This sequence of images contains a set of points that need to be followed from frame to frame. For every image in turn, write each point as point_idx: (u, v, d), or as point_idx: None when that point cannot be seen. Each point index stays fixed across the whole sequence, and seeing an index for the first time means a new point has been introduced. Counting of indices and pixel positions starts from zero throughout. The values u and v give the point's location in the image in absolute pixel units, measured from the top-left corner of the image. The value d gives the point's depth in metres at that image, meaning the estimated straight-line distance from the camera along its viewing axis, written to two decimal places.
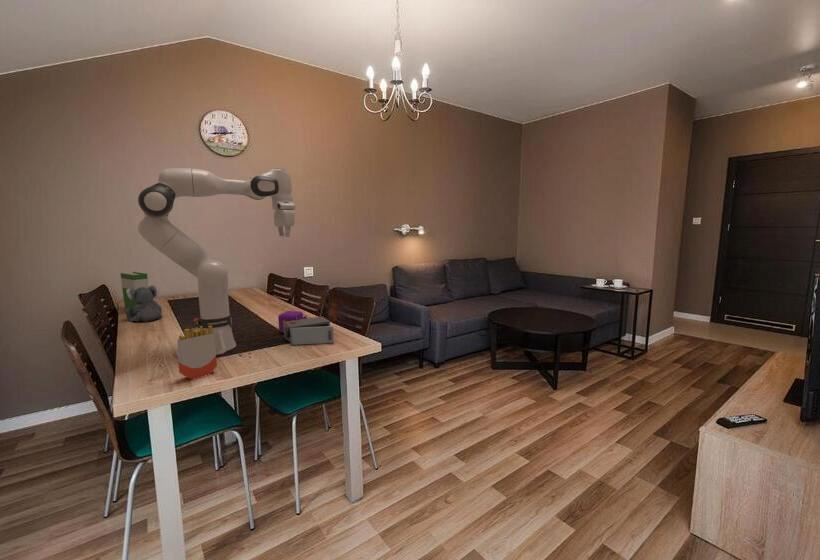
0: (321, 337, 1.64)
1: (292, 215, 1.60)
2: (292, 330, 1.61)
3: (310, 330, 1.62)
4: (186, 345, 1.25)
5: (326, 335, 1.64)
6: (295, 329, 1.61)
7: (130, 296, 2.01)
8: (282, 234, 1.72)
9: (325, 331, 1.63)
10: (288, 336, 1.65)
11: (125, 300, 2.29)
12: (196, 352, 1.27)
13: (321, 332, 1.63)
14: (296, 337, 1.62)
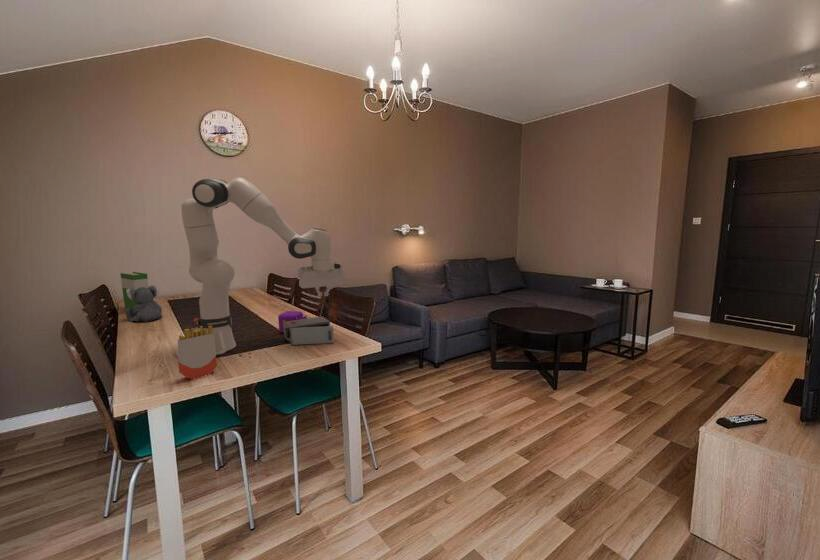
0: (321, 337, 1.64)
1: None
2: (292, 330, 1.61)
3: (310, 330, 1.62)
4: (186, 345, 1.25)
5: (326, 335, 1.64)
6: (295, 329, 1.61)
7: (130, 296, 2.01)
8: None
9: (325, 331, 1.63)
10: (288, 336, 1.65)
11: (125, 300, 2.29)
12: (196, 352, 1.27)
13: (321, 332, 1.63)
14: (296, 337, 1.62)
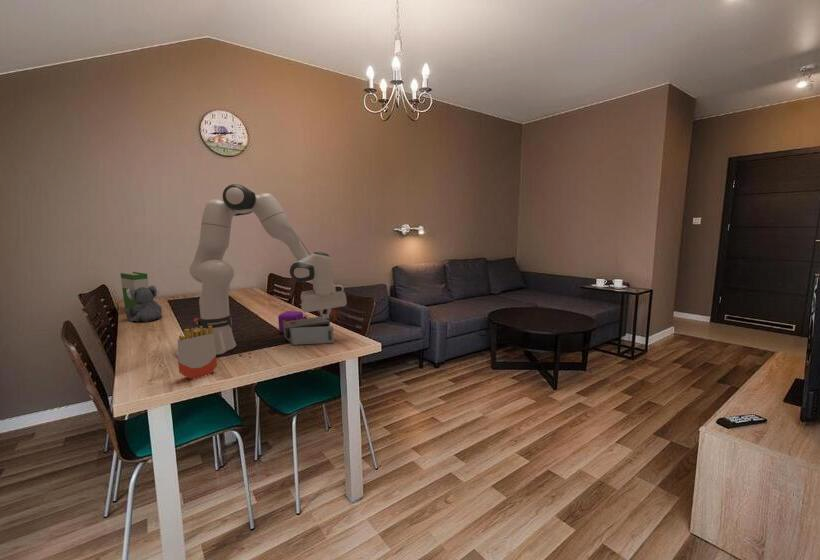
0: (321, 337, 1.64)
1: None
2: (292, 330, 1.61)
3: (310, 330, 1.62)
4: (186, 345, 1.25)
5: (326, 335, 1.64)
6: (295, 329, 1.61)
7: (130, 296, 2.01)
8: None
9: (325, 331, 1.63)
10: (288, 336, 1.65)
11: (125, 300, 2.29)
12: (196, 352, 1.27)
13: (321, 332, 1.63)
14: (296, 337, 1.62)
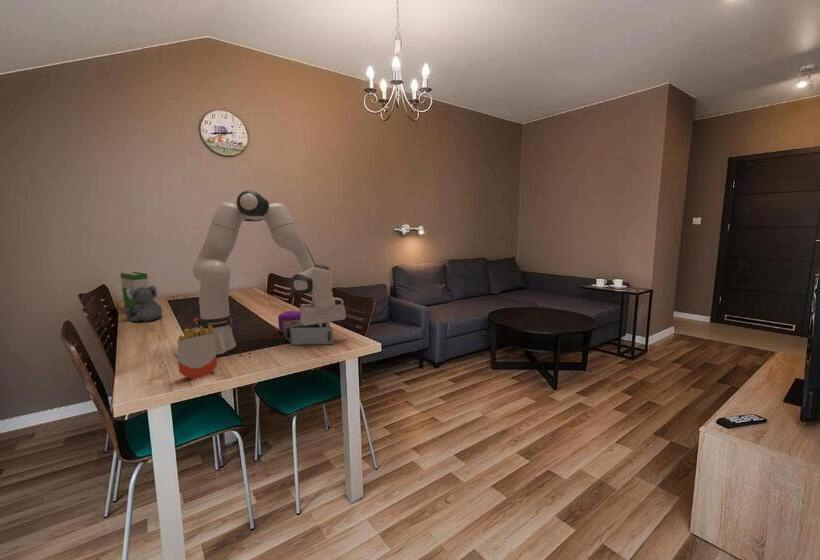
0: (321, 338, 1.63)
1: None
2: (292, 330, 1.61)
3: (310, 330, 1.62)
4: (186, 345, 1.25)
5: (326, 336, 1.63)
6: (295, 329, 1.61)
7: (130, 296, 2.01)
8: None
9: (325, 332, 1.62)
10: (288, 336, 1.65)
11: (125, 300, 2.29)
12: (196, 352, 1.27)
13: (321, 333, 1.62)
14: (296, 337, 1.62)
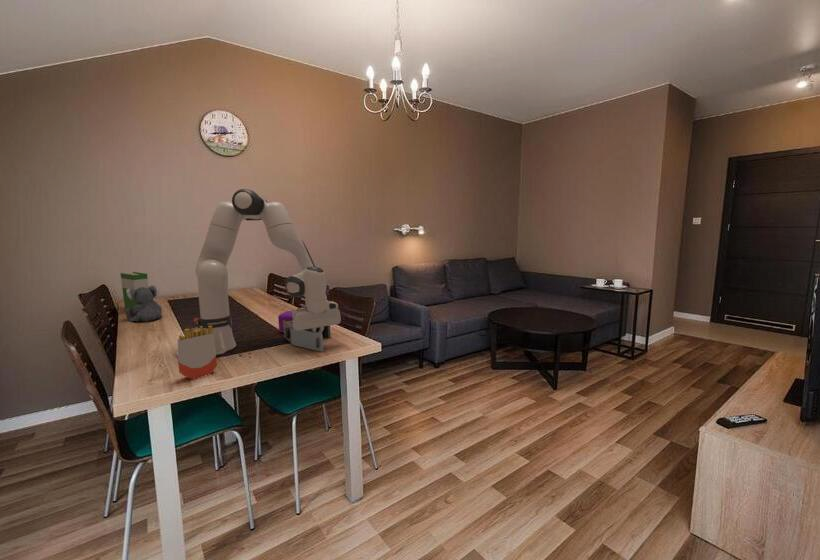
0: (312, 343, 1.55)
1: None
2: (291, 330, 1.61)
3: (303, 334, 1.57)
4: (186, 345, 1.25)
5: (315, 342, 1.54)
6: (293, 330, 1.60)
7: (130, 296, 2.01)
8: None
9: (315, 338, 1.54)
10: (288, 336, 1.65)
11: (125, 300, 2.29)
12: (196, 352, 1.27)
13: (312, 338, 1.55)
14: (294, 338, 1.61)
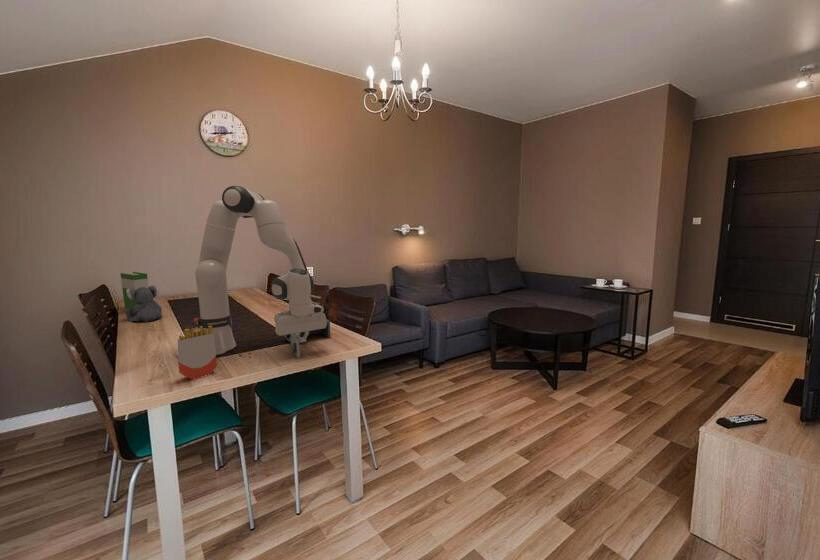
0: None
1: None
2: None
3: (293, 336, 1.54)
4: (186, 345, 1.25)
5: None
6: None
7: (130, 296, 2.01)
8: None
9: (295, 342, 1.49)
10: (288, 336, 1.65)
11: (125, 300, 2.29)
12: (196, 352, 1.27)
13: (294, 342, 1.50)
14: (291, 338, 1.60)
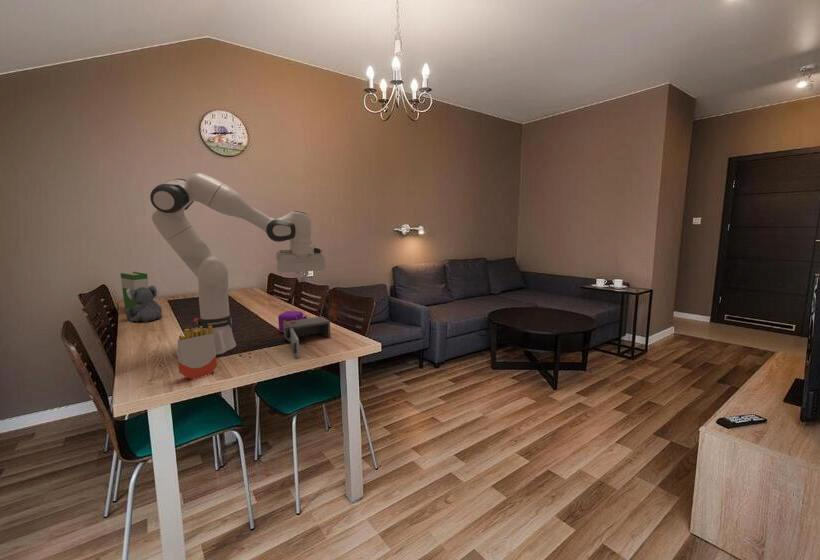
0: None
1: None
2: (290, 330, 1.61)
3: (293, 336, 1.54)
4: (186, 345, 1.25)
5: None
6: (290, 330, 1.60)
7: (130, 296, 2.01)
8: None
9: (295, 342, 1.49)
10: (288, 336, 1.65)
11: (125, 300, 2.29)
12: (196, 352, 1.27)
13: (294, 342, 1.50)
14: (291, 338, 1.60)
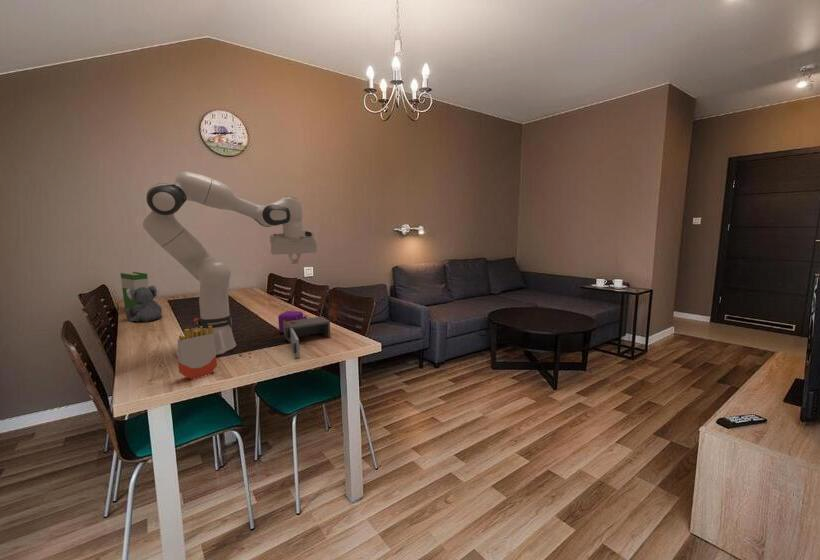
0: None
1: None
2: (290, 330, 1.61)
3: (293, 336, 1.54)
4: (186, 345, 1.25)
5: None
6: (290, 330, 1.60)
7: (130, 296, 2.01)
8: None
9: (295, 342, 1.49)
10: (288, 336, 1.65)
11: (125, 300, 2.29)
12: (196, 352, 1.27)
13: (294, 342, 1.50)
14: (291, 338, 1.60)
